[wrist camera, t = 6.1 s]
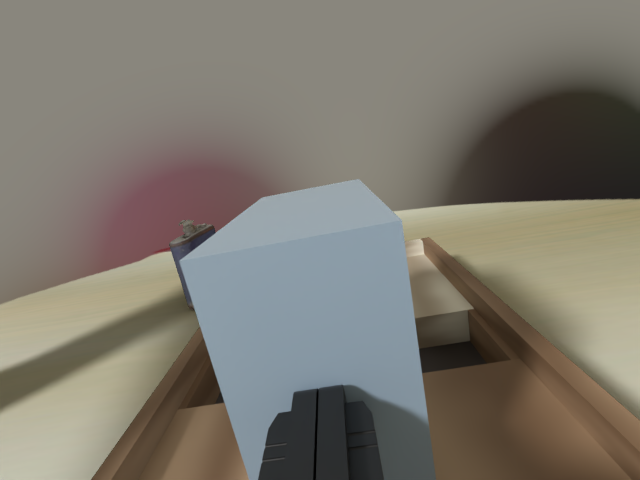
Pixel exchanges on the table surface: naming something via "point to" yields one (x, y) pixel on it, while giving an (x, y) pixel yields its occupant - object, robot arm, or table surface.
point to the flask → (189, 248)
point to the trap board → (440, 394)
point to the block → (314, 318)
